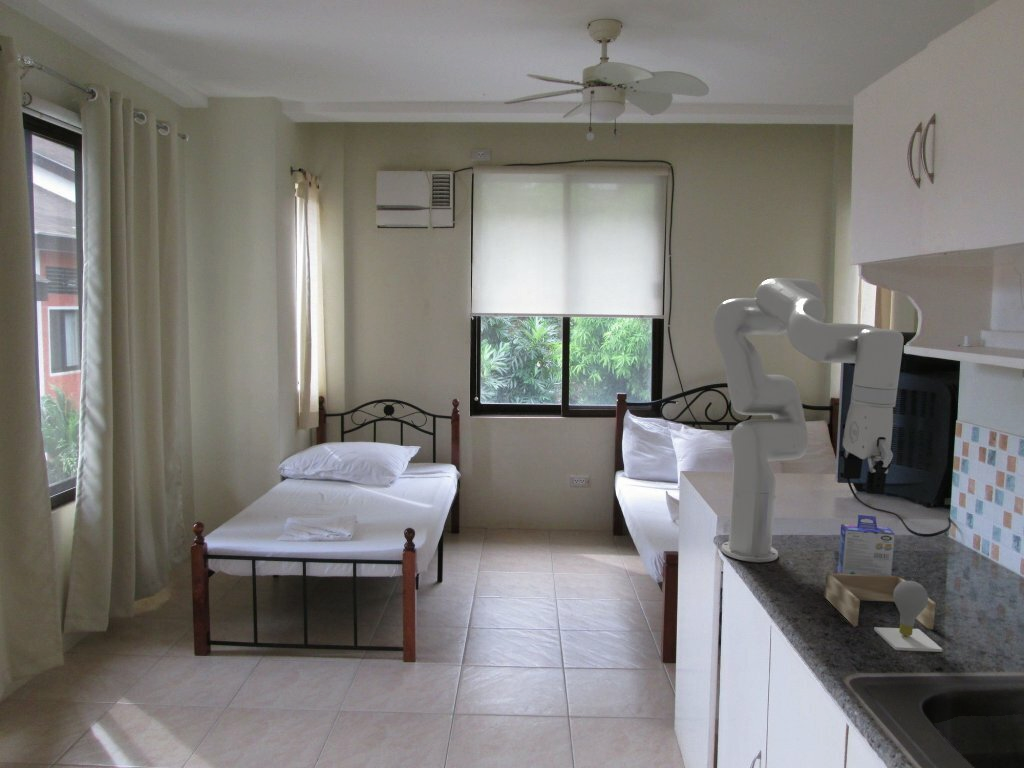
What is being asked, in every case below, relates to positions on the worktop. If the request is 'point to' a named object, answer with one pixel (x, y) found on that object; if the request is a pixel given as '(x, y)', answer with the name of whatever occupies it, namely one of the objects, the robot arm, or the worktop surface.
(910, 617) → the light bulb
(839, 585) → the u-shaped wooden frame
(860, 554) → the ink cartridge box
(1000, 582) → the worktop surface
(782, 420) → the robot arm
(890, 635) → the grey pad
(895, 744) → the worktop surface
